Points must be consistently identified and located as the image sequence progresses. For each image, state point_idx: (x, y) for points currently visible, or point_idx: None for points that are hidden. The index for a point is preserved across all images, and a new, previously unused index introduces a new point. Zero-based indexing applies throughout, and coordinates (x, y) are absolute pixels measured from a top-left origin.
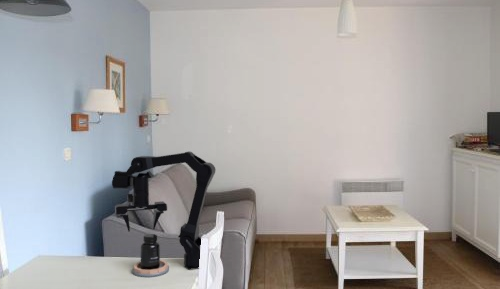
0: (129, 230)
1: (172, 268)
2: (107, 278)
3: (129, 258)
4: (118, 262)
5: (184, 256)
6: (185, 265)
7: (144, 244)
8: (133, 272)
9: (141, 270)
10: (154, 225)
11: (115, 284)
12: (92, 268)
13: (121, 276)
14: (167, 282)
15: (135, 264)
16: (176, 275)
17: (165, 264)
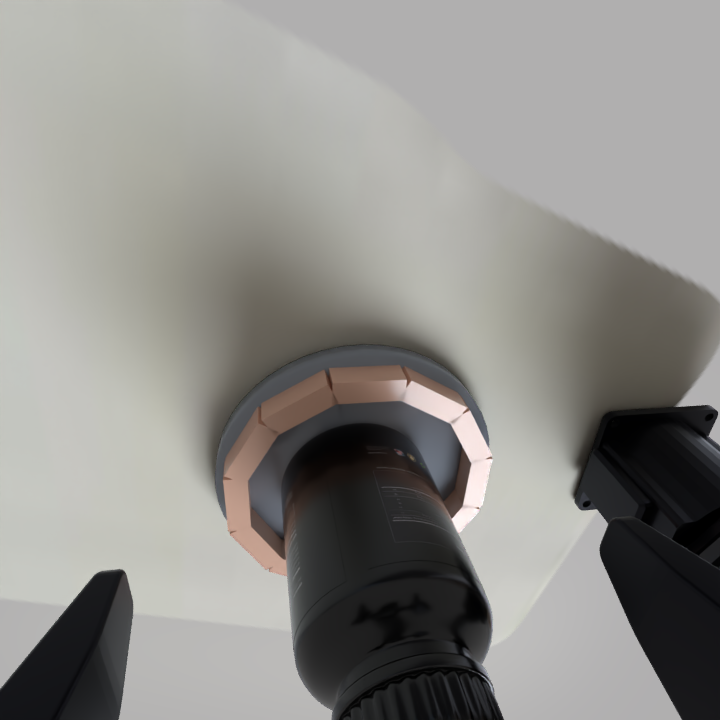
0: (126, 640)
1: (502, 454)
2: (23, 521)
3: (202, 33)
4: (67, 147)
5: (625, 510)
6: (583, 490)
7: (331, 708)
8: (221, 504)
9: (275, 572)
10: (655, 644)
11: None
12: None
13: (132, 508)
14: None
15: (242, 460)
16: (475, 557)
17: (462, 508)
